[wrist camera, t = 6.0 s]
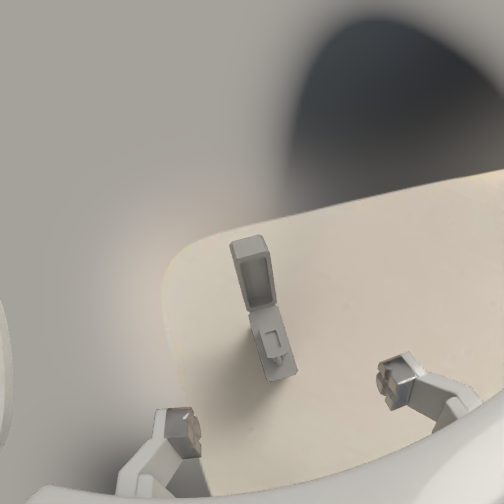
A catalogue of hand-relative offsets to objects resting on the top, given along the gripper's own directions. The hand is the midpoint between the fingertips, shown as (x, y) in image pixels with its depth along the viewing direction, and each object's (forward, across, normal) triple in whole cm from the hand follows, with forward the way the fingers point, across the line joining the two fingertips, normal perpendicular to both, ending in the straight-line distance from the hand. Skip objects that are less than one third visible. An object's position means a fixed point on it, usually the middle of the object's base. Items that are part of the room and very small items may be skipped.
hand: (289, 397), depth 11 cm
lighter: (+9, 0, +3) cm, 9 cm away
